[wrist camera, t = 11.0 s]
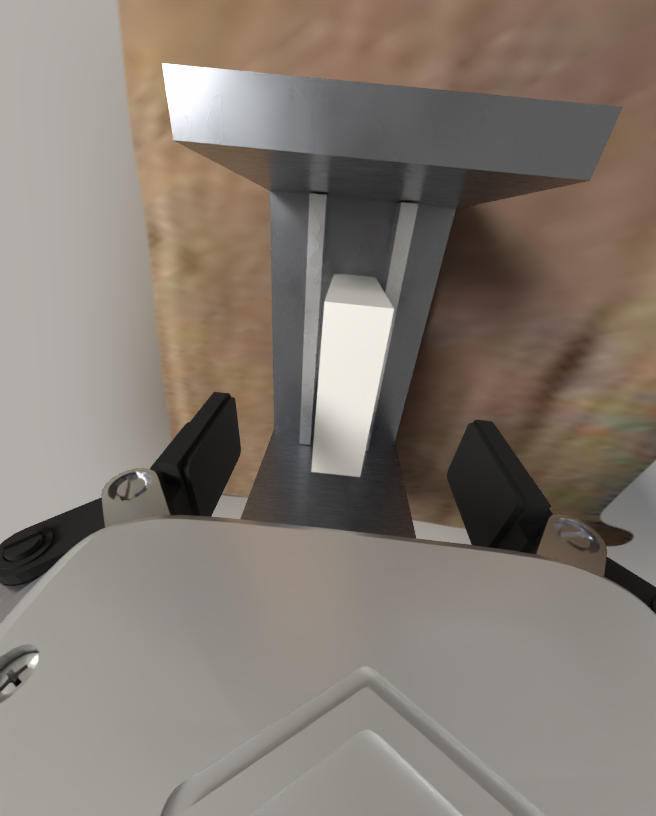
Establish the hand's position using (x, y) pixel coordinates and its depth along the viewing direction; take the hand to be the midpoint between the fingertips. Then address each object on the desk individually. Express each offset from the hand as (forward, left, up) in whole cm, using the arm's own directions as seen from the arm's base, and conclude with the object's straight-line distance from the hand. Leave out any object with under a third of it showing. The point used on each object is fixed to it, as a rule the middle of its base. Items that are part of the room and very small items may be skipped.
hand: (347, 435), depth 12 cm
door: (+1, 0, -13) cm, 13 cm away
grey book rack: (+1, 0, -14) cm, 14 cm away
